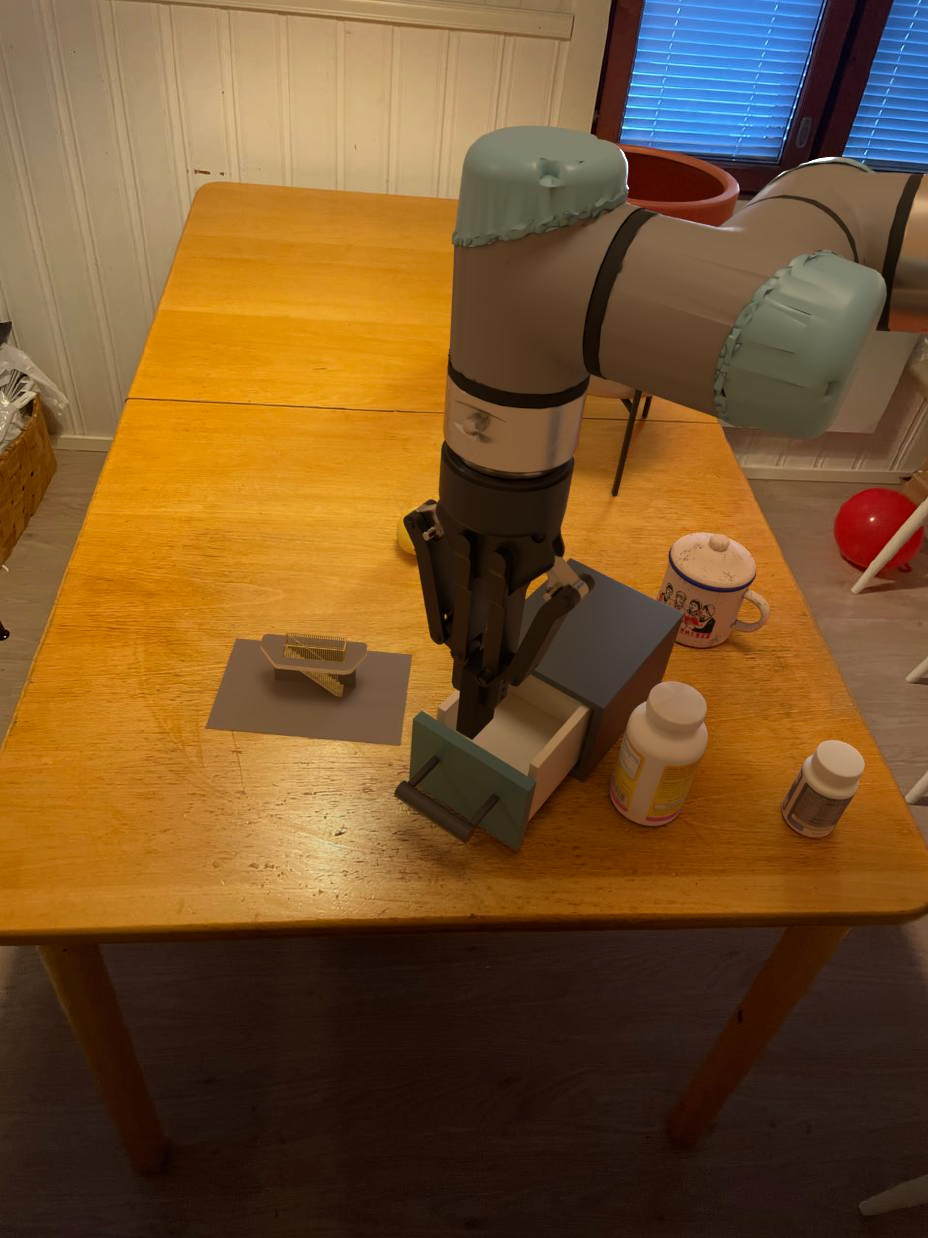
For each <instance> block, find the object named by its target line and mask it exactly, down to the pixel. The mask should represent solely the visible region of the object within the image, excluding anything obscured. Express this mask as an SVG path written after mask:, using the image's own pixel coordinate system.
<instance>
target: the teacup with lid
mask: <svg viewBox="0 0 928 1238" xmlns="http://www.w3.org/2000/svg"><path fill="white" fill-rule="evenodd" d="M756 577H757V565H756V561H755V559H754V556H753V555H752V554H751V553H750V552H749V550H748V549H746V547H744V545H742V544H741V543H739V542H737V541H735V540H734V539H731V538H729V537H728V536H726V534H722V533H712V532H693V533H688V534H685V535H683V536H681V537H679V538H678V539H676V541H675V542H674V543H673V544H672V545H671V546H670V548H669V551H668V562H667V565H666V569H665V572H664V574H663V578H662V582H661V585H660V587H659V591H658V595H657V597H656V600H657V601H659V602H661V603H664V604H666V605H668V606H670V607H672V608H674V609H676V610H678V611H680V612H682V613H684V617H683V620H682V622H681V625H680V628H679V631H678V634H677V637H676V640H675V642H677V643H680V644H682V645H683V646H684V645H685V646H689V647H694V648H710V647H715V646H718V645H720V644H722V643H723V642H725V641H726V640H727V639H729V638H730V635H731V633H732V631H733V629H734V630H736V631H738V632H742V633H754V632H757V631H759V630H760V629H762V628H763V627H764V626H765V625H766V623H767V622H768V621H769V619H770V616H771V607H770V605H769V603H768V601H767V600H766V599H765V598H764V597H763V596H762V595H761V594H759V593H757V592H755V591H753V590H752V589H750V585H752V583H754V581H755V579H756ZM744 601H749V602H750V603H752V604H754V605H755V606H756V607H757V608H758V611H759V613H760V618H759V620H758V621H755V622H751V623H750V622H746V621H742V620H740V619H738V615H739V613H740V610H741V609H742V606H743V603H744Z"/></svg>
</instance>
